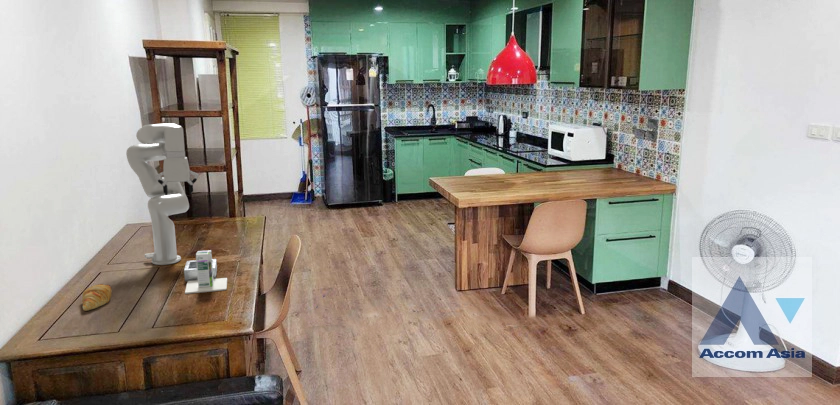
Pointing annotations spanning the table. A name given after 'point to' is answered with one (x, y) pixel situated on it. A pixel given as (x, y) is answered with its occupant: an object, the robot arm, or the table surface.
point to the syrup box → (204, 268)
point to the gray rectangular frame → (191, 270)
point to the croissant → (96, 296)
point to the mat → (217, 286)
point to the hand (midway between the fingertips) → (178, 194)
